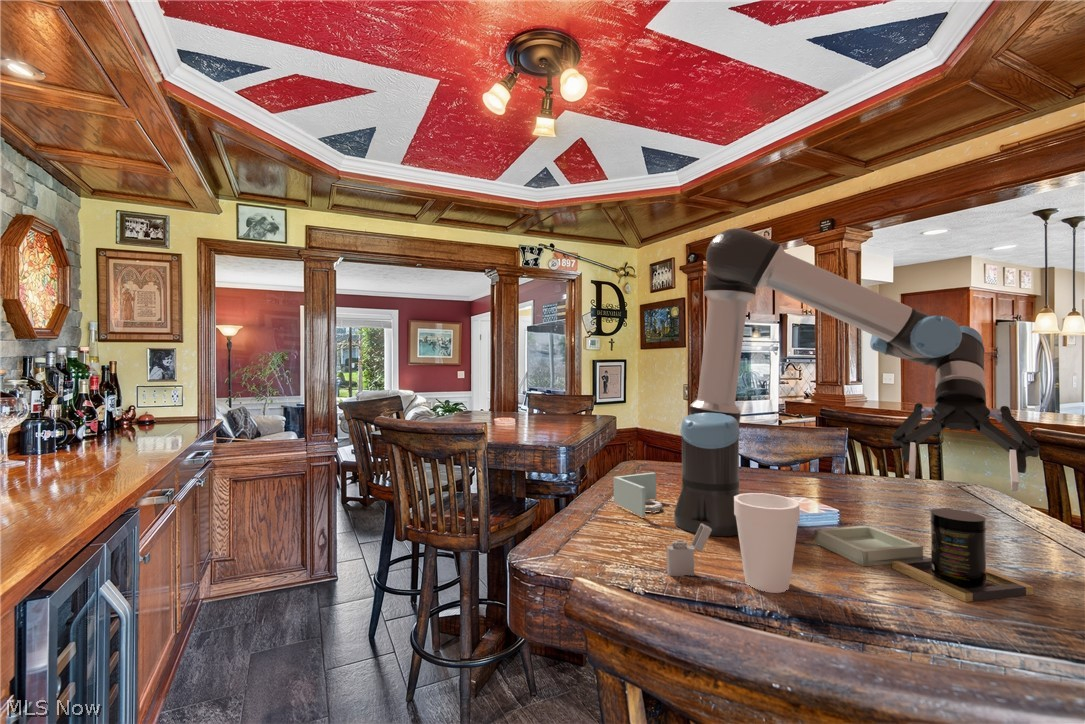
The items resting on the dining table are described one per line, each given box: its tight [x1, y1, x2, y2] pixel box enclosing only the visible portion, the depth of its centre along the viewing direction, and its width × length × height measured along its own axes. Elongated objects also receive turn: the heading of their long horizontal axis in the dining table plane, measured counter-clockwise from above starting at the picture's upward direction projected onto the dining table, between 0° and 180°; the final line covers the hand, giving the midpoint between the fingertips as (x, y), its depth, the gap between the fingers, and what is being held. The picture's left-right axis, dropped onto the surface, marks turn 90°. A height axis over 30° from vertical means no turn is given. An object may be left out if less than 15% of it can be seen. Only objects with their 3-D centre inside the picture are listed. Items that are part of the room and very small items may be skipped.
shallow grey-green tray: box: [813, 525, 924, 567], centre depth 91 cm, size 12×12×2 cm
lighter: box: [666, 523, 712, 577], centre depth 82 cm, size 7×2×8 cm, turn 92°
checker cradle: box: [891, 557, 1034, 603], centre depth 78 cm, size 12×12×1 cm
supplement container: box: [929, 508, 987, 589], centre depth 78 cm, size 7×7×10 cm
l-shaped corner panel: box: [613, 472, 663, 518], centre depth 119 cm, size 12×12×8 cm
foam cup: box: [734, 492, 801, 594], centre depth 78 cm, size 10×9×13 cm
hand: (960, 481), depth 85 cm, fingers open, 13 cm apart
